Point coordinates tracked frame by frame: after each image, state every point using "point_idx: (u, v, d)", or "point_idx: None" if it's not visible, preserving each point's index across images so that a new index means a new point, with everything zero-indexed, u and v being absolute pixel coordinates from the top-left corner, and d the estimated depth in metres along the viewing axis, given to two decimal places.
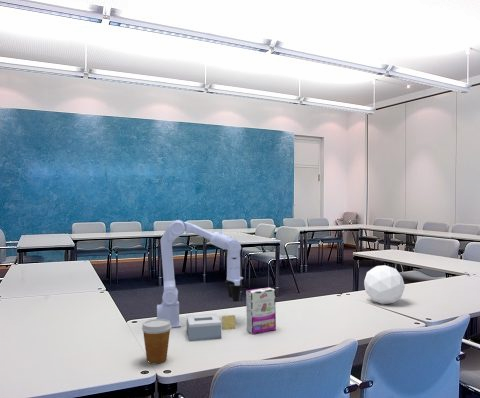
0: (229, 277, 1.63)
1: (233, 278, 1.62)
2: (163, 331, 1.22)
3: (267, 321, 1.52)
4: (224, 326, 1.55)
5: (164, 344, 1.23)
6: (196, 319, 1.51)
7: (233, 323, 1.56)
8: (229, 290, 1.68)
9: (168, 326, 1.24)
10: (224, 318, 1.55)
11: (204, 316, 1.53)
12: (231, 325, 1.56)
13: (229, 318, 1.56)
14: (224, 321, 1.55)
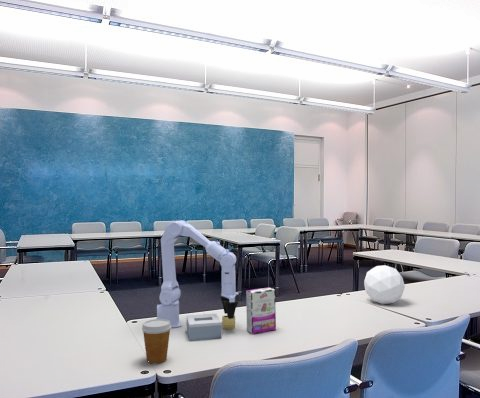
0: (224, 293, 1.55)
1: (228, 294, 1.54)
2: (163, 331, 1.22)
3: (267, 321, 1.52)
4: (224, 326, 1.55)
5: (164, 344, 1.23)
6: (196, 319, 1.51)
7: (233, 323, 1.56)
8: (224, 306, 1.60)
9: (168, 326, 1.24)
10: (224, 318, 1.55)
11: (204, 316, 1.53)
12: (231, 325, 1.56)
13: None
14: (224, 321, 1.55)
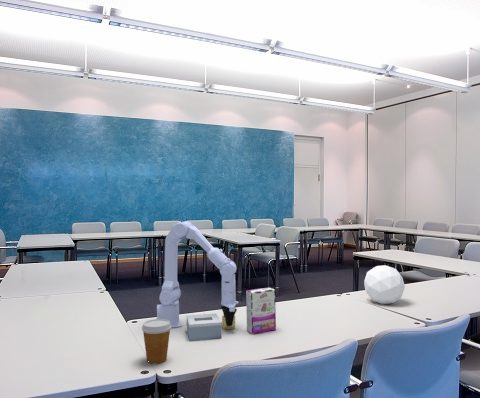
0: (224, 302, 1.55)
1: (228, 303, 1.54)
2: (163, 331, 1.22)
3: (267, 321, 1.52)
4: (224, 326, 1.55)
5: (164, 344, 1.23)
6: (196, 319, 1.51)
7: (233, 323, 1.56)
8: None
9: (168, 326, 1.24)
10: (224, 318, 1.55)
11: (204, 316, 1.53)
12: None
13: None
14: (224, 321, 1.55)
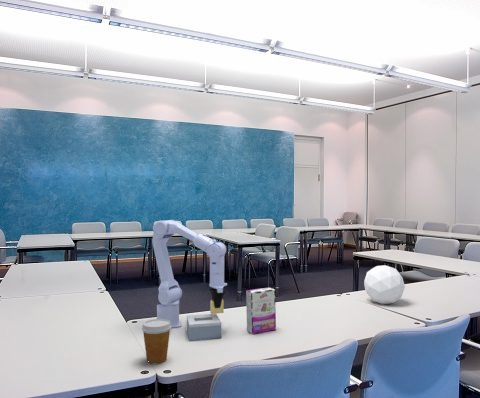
0: (212, 283, 1.51)
1: (216, 284, 1.51)
2: (163, 331, 1.22)
3: (267, 321, 1.52)
4: (212, 310, 1.52)
5: (164, 344, 1.23)
6: (196, 319, 1.51)
7: (221, 307, 1.53)
8: None
9: (168, 326, 1.24)
10: (212, 302, 1.52)
11: (204, 316, 1.53)
12: (219, 309, 1.53)
13: None
14: (212, 305, 1.52)
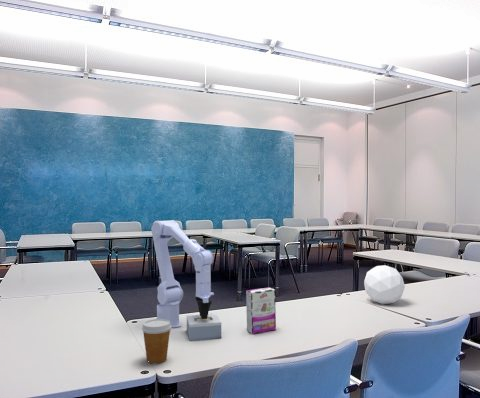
0: (198, 293, 1.48)
1: (202, 294, 1.47)
2: (163, 331, 1.22)
3: (267, 321, 1.52)
4: None
5: (164, 344, 1.23)
6: (196, 319, 1.51)
7: None
8: (200, 308, 1.51)
9: (168, 326, 1.24)
10: None
11: None
12: None
13: None
14: None
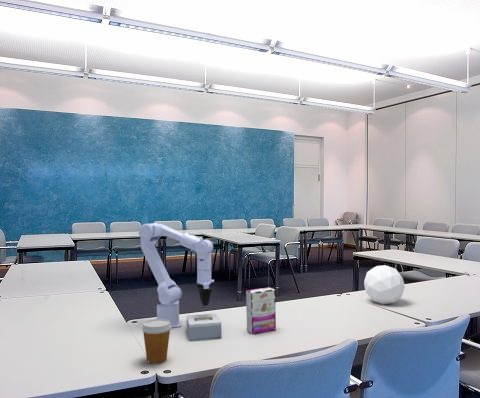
0: (199, 280, 1.55)
1: (203, 281, 1.54)
2: (163, 331, 1.22)
3: (267, 321, 1.52)
4: None
5: (164, 344, 1.23)
6: (196, 319, 1.51)
7: None
8: (200, 293, 1.60)
9: (168, 326, 1.24)
10: None
11: (204, 316, 1.53)
12: None
13: None
14: None
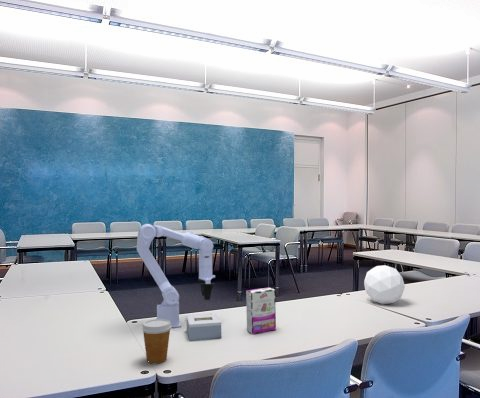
0: (201, 276, 1.64)
1: (205, 277, 1.63)
2: (163, 331, 1.22)
3: (267, 321, 1.52)
4: None
5: (164, 344, 1.23)
6: (196, 319, 1.51)
7: None
8: (202, 288, 1.69)
9: (168, 326, 1.24)
10: None
11: (204, 316, 1.53)
12: None
13: None
14: None
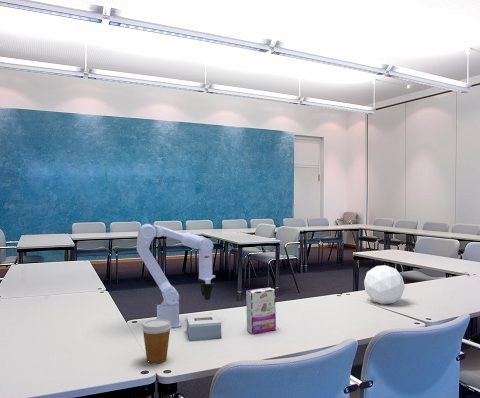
0: (201, 276, 1.64)
1: (205, 277, 1.63)
2: (163, 331, 1.22)
3: (267, 321, 1.52)
4: None
5: (164, 344, 1.23)
6: (196, 319, 1.51)
7: None
8: (202, 288, 1.69)
9: (168, 326, 1.24)
10: None
11: (204, 316, 1.53)
12: None
13: None
14: None
